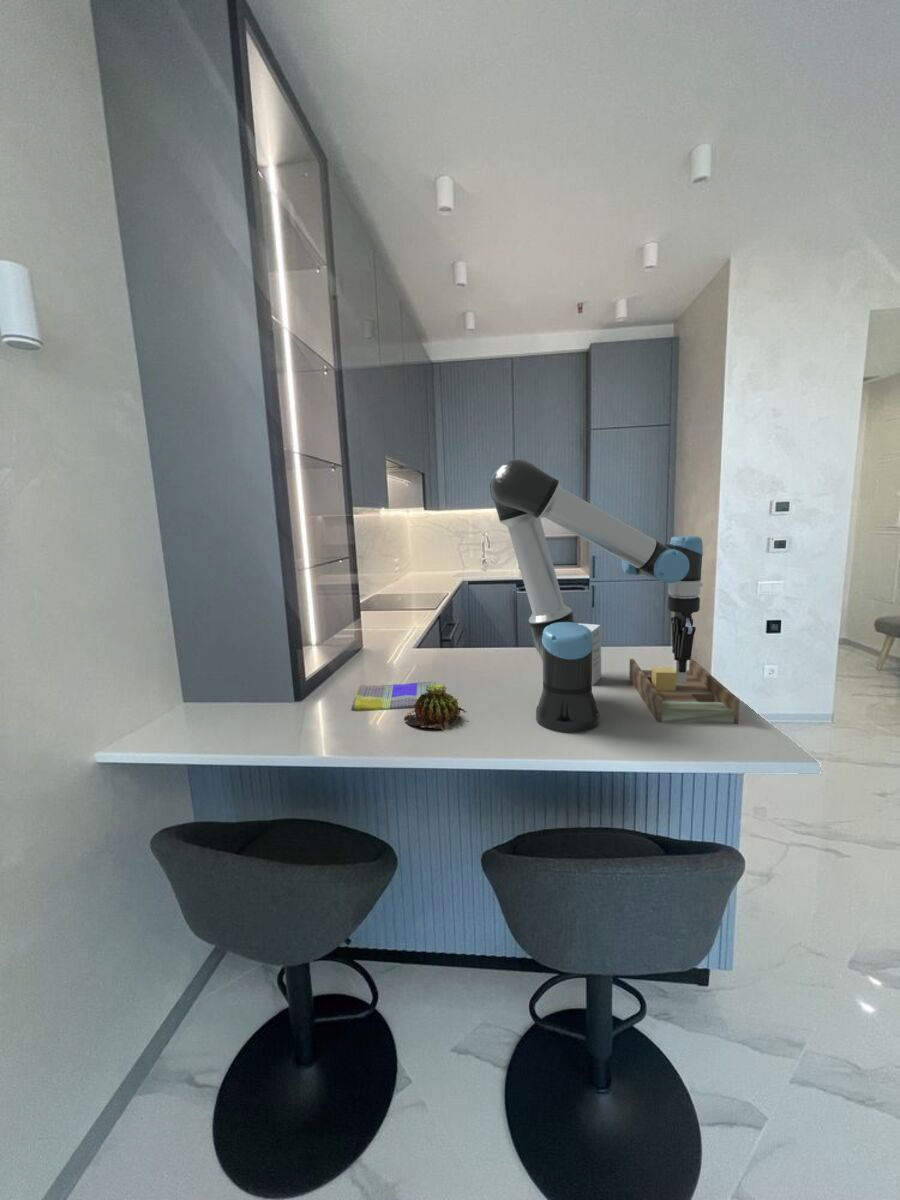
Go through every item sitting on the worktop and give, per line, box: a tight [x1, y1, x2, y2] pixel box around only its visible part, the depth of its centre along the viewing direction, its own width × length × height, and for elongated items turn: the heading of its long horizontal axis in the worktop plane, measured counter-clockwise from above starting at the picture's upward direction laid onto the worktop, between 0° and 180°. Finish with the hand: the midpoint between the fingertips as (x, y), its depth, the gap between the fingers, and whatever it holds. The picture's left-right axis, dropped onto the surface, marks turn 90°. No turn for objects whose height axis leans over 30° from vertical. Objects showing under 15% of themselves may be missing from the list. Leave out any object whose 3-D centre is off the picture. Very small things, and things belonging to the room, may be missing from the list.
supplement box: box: [578, 622, 602, 687], centre depth 152 cm, size 10×9×17 cm
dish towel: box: [351, 681, 437, 712], centre depth 144 cm, size 18×24×3 cm
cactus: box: [403, 683, 470, 731], centre depth 127 cm, size 17×16×10 cm
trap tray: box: [628, 658, 740, 725], centre depth 134 cm, size 33×18×6 cm, turn 172°
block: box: [651, 666, 676, 691], centre depth 136 cm, size 5×5×5 cm
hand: (679, 682), depth 135 cm, fingers closed
